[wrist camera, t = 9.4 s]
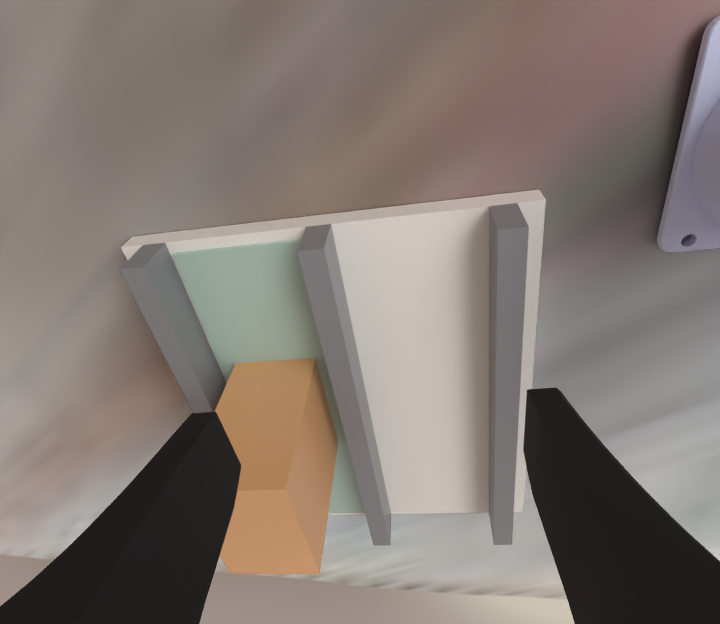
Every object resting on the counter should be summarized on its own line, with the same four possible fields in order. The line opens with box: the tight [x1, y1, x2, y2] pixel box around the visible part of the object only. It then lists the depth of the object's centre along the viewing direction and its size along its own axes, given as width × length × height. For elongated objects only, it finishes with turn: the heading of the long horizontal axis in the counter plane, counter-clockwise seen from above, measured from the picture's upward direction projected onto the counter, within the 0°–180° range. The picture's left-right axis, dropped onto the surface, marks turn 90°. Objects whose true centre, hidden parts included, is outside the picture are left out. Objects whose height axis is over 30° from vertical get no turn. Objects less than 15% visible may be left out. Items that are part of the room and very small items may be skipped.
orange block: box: [215, 358, 338, 574], centre depth 21 cm, size 4×6×7 cm, turn 9°
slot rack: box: [120, 190, 546, 545], centre depth 24 cm, size 17×20×3 cm
